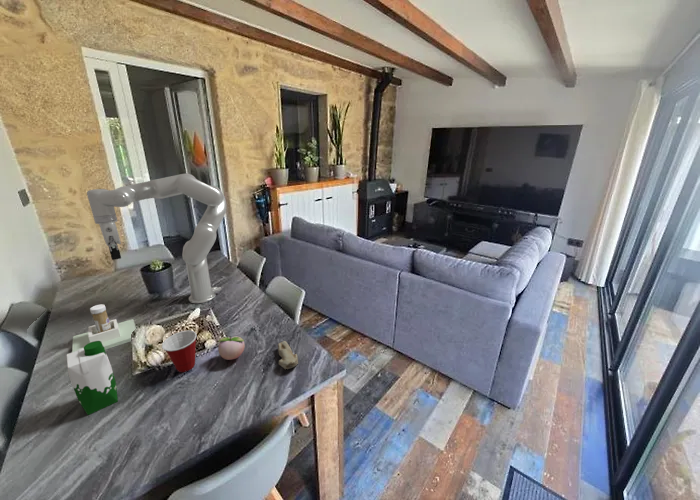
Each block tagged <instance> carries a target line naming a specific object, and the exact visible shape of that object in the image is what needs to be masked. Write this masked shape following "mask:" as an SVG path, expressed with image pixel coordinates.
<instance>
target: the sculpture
mask: <svg viewBox="0 0 700 500" xmlns="http://www.w3.org/2000/svg"><path fill="white" fill-rule="evenodd" d="M277 350H278V355H279V356H280V357H281V359H279V360H278V365H279V366H280V367H282V368H283V369H284V370H286V369H287V370H290V369H292V368H295V367H296V366H298V365H299V357H298V354H297V353H295V354H294V353H293V350H292V348H291V347H290V344H288V342H287V341H285V340H283V341H281V342H279V343H277ZM297 364H298V365H297Z"/></svg>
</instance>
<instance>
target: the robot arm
mask: <svg viewBox="0 0 700 500" xmlns="http://www.w3.org/2000/svg"><path fill="white" fill-rule="evenodd" d="M179 195H185V196H186V197H188V198H191V199H193V200H196V201H198V202H199V203H202V204H203V205H207V208H206V209H205V211H204V213H203V215H202V216H201V218H200V220H199V221H198V223H197V225H196V226H195V228H194V230H193V231H194V232H193V235H191V236H192V237H191V238H190V240H187V241H186V242H185V244H184V245H183V247H182V260H183V261H184V262H185V267H186V274H187V278H188V283H189V284H188V285H189V289H190V296H189V297H188V301H189V302H190V303H192V304H204V303H207V302H209V301H212V300H213V299H214V298H215V297H216V292H220V291H222V287H221V286H219V287H218V286H214V287H213V286H211V285H212V284H211V279H210V278H211V277H210V272H209V265H208V259H207V256H208V254H209V252H210V251H211V249H212V247H213V246H214V244H215V242H216V239H217V230H218V228H219V226H220V225H221V223H222V221H223V219H224V217H225V216H226V212H227V198H226V197H225V195H224V193H223V191H222V190H221V189H220V187H217V186H216V185H209V184H207V183H205V182H203V181H201V180H199V179H197V178H196V177H195V176H194V175H193V174H191V173H181V174H175V175H172V176H166V177H161V178H157V179H151V180H148V181H143V182H139V183H134V184H133V183H132V184H129V185H123V186H120V187H118V188H116V189H112V190H111V189H107V188H96V189H95V188H94V189H90V190H87V192H86V196H87V199H88V203H89V206H90V210H91V214H92V217H93V220H94V223H95V224H96V225H99V227H100V232H101V234H102V237H103V240H104V241H105V244H106V246H108V249H109V250H108V251H109V254H110V257H111V260H112V261H115V260H121V259H122V255H121V251H120V249H119V245H121V239H120V235H119V231H118V227H117V222H118V221H119V220H118V217H117V214H116V209H115V207H117V208H124V207H125V208H126V207H128V206H130V205H131V204H132V203H134V202H138V201H143V200H147V199H161V200H162V199H165V198H171V197H175V196H179Z"/></svg>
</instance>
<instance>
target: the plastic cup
mask: <svg viewBox="0 0 700 500" xmlns="http://www.w3.org/2000/svg"><path fill="white" fill-rule="evenodd" d="M196 339H197V332H195V331H194V330H190V329H189V330H182V331H179V332H175V333H174V334H171V335H170V336H168V337H166V339H164V341H163V342H162V344H161V349H163V350H164V351H165V352H166V353H167V354H168V357H169V358H170V360H171V362H172V364H173V365H174V367H175V369H176V371H177V372H179V373H185V372H189V371H190V370H192V369H193V368H195V365H196V345H197V342H196V341H197V340H196Z"/></svg>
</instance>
